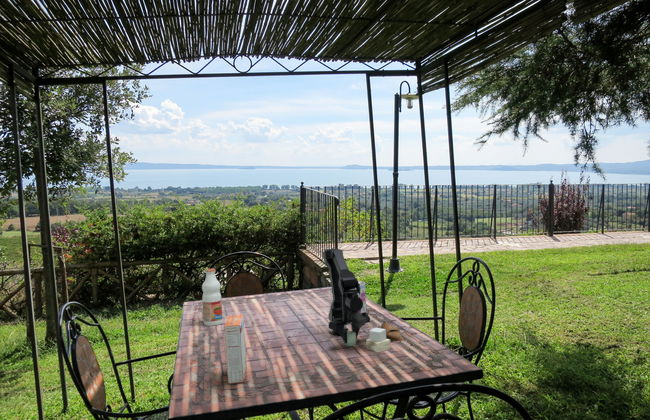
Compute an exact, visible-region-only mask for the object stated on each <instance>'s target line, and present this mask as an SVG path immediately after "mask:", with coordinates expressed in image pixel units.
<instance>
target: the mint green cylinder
mask: <svg viewBox="0 0 650 420" xmlns="http://www.w3.org/2000/svg"><path fill="white" fill-rule="evenodd" d="M344 345H345V346H347V347H353V346H356V345H357V339H356V332H354V331H352V330H348V331H347V343H344Z"/></svg>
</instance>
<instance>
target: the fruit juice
mask: <svg viewBox="0 0 650 420" xmlns="http://www.w3.org/2000/svg"><path fill="white" fill-rule="evenodd" d="M201 290H202V292H203V293H202V299H201V301H202V314H203V315H202V316H203V317H202V318H203V325H204V326H207V327H213V326H219V325H221V324H222V323H223V305H222V304H223V303H222V301H223V300H222V294H221V283H220V281H219V280H218V278H217V277H216V268H213V267H212V268H205V280H204V282H203V283H202V285H201Z"/></svg>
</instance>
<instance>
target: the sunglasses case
mask: <svg viewBox="0 0 650 420" xmlns="http://www.w3.org/2000/svg"><path fill="white" fill-rule="evenodd" d="M380 325H381V326H380V328H381V329H386V339H389V340H390V342H402V341H404V337H403V334H402V333H401V331H400V328H399V327H397V326H395V325H393V324H391V323H388V322H382V324H380Z"/></svg>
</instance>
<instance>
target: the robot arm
mask: <svg viewBox="0 0 650 420" xmlns="http://www.w3.org/2000/svg"><path fill="white" fill-rule="evenodd" d="M321 256H322V260H323V262H324V264H325V266H326V267H327V268H328V272H329V279H330V286H331V294H332V301H331V304H330V309H329V312H328V320H329V322H328V329H330V330H332V331H330V332H329V334H332V335H333V336H337V337H340V336H341V338H342V340H343V343H344V344H345V343H347V331H349V328H348V327H347V326H348V325H351V331H354V332H356V340H357V338H358V335H359V333H360V330H361V328H362V327H364V326H365V324H369V323H371V317H370V315H369V313H368V312H365V313H359V312H358V311H359V310H361V309H362V307H363V301H362V299H360V298H359V297H358V294H357V293H360V289H361V288H360V285H359V282H358V281H359V280H358V278H357V277H356V275H355V274H354V272H352V271H351V270H350V269H349V267H348V264H347V261H346V259H345V257H344V251H343V249H340V248H328V249H327V248H325V249H324V251H322V255H321ZM355 288H356V289H355ZM351 289H355V290H351Z"/></svg>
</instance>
